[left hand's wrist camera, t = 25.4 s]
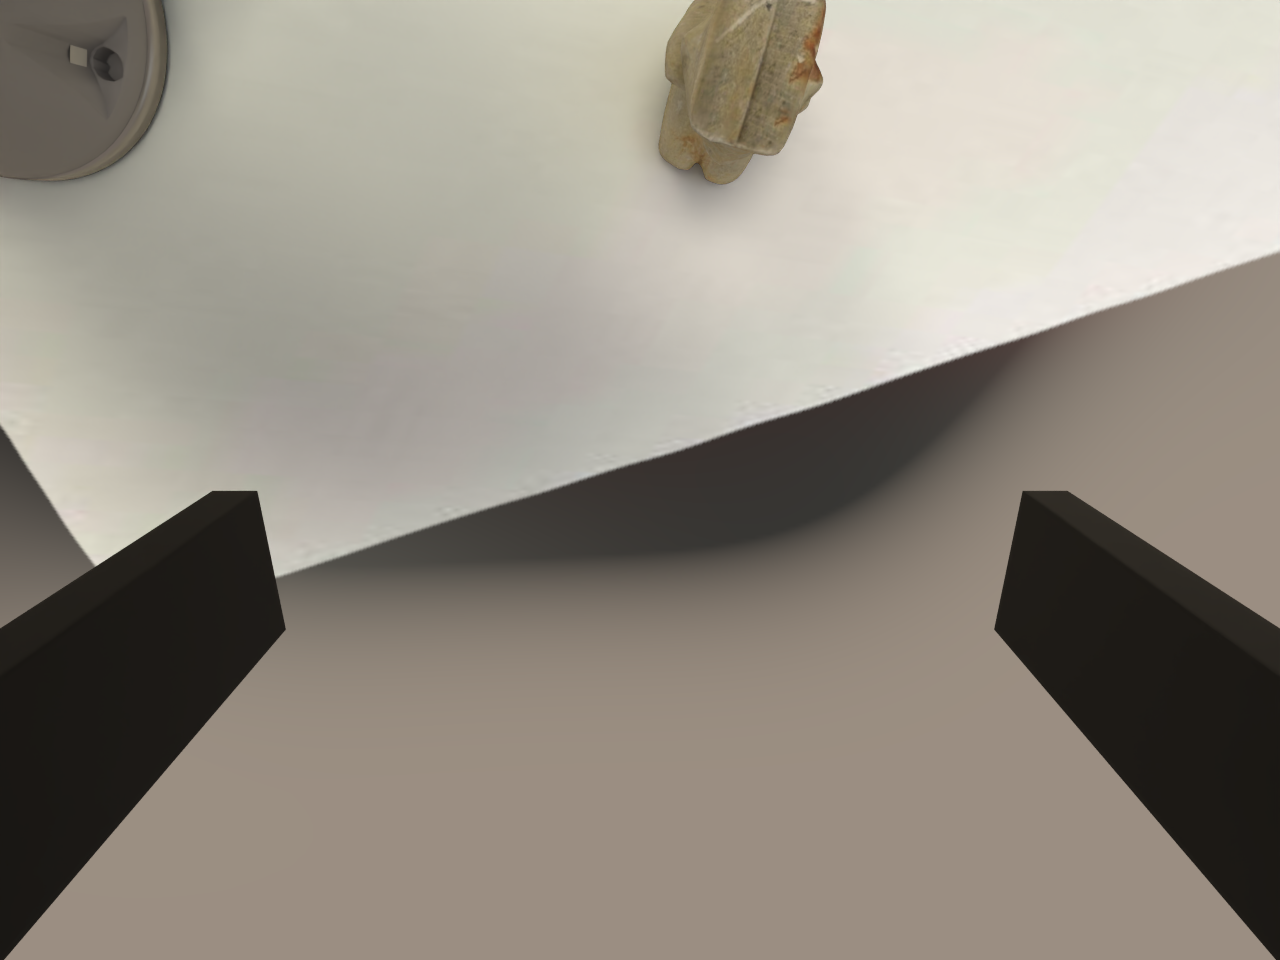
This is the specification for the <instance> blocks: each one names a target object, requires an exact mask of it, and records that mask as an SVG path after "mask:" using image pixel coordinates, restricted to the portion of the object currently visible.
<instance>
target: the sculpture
mask: <svg viewBox="0 0 1280 960" xmlns="http://www.w3.org/2000/svg"><path fill="white" fill-rule="evenodd" d="M825 11H826V1H825V0H695V1H693V3H692V4H691V5H690V7H689V8H688V10H687V11H686V13H685V15H684V16H683V18H682V19H681V21H680V22H679V24H678V25H677V27H676V28H675V30H674V32H673V34H672V35H671V37H670V39H669V41H668V44H667V48H666V58H665V75H666V78H667V79H668V80H669V81H670V82H671V83H672V85H671V89H670V92H669V96H668V100H667V104H666V108H665V112H664V117H663V122H662V128H661V134H660V140H659V151H660V154H661V156H662V157H663V158H664V159H665V160H666V161H667V162H669V163H670V164H672V165H674V166H675V167H677V168H679V169H685V170H688V169H690V168H691V167H692V166H693V165H694V164H695V163H698V164H699V165H701V167H702V170H703V173H704V176H705V178H706V179H707V180H709V181H711V182H714V183H717V184H727V183H730V182H732V181H734V180H735V179H737V178H738V177H739V176H740V174H741V173H742V172H743V171H744V169H745V168H746V166H747V164H748V163H749V161H750V159H751V157H752V155H753V154H760V155H766V156H769V155H775V154H778V153H779V152H780V151H781V149H782V148H783V147H784V145H785V143H786V141H787V139H788V137H789V135H790V132H791V130H792V128H793V126H794V123H795V120H796V117H797V115H798V114H799V113H801V112H802V111H804V110H805V109H806V108H807V107H808V105H809V102H810V99H811V97H812V96H813V95H814V94H815V93H816V92H817V91H818V90H819V89H820V88H821V86H822V83H823V77H822V75H821V72H820V70H819V67H818V65H817V63H816V61H815V58H816V55H817V52H818V47H819V43H820V39H821V35H822V30H823V24H824V18H825Z"/></svg>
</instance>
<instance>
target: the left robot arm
mask: <svg viewBox="0 0 1280 960" xmlns="http://www.w3.org/2000/svg"><path fill="white" fill-rule="evenodd" d="M166 66H167V34H166V26H165V18H164V13H163V8H162V3H161V0H0V176H1V177H6V178H14V179H25V180H43V181H58V180H68V179H74V178H79V177H83V176H87V175H90V174H92V173H95V172H98V171H100V170H102V169H104V168H106V167H108V166H110V165H111V164H113V163H114V162H116V161H117V160H119V159H120V158H122V157H123V156H124V155H125V154H126V153H127V152H128V151H129V150H130V149H132V147H133V146H134V145H135V144H136V143H137V142H138V141H139V139H140V138H141V137H142V135H143V134H144V132H145V131H146V129H147V128H148V126H149V124H150V122H151V120H152V118H153V116H154V114H155V112H156V109H157V107H158V104H159V101H160V98H161V94H162V90H163V86H164V81H165V74H166ZM285 630H286V628H285V623H284V619H283V614H282V609H281V604H280V599H279V594H278V590H277V585H276V580H275V575H274V570H273V565H272V560H271V555H270V551H269V546H268V541H267V536H266V531H265V526H264V521H263V517H262V512H261V507H260V502H259V497H258V492H257V491H212V492H210V493H209V494H207V495H206V496H204V497H203V498H201V499H199V500H198V501H196V502H195V503H193V504H192V505H190V506H189V507H187V508H186V509H184V510H182V511H181V512H179V513H178V514H176V515H175V516H173V517H172V518H170V519H169V520H167V521H165V522H164V523H162V524H161V525H159V526H158V527H156V528H155V529H153V530H152V531H150V532H148V533H147V534H145V535H144V536H142V537H141V538H139V539H138V540H136V541H135V542H133V543H131V544H130V545H128V546H127V547H125V548H124V549H122V550H121V551H119V552H118V553H116V554H115V555H113V556H111V557H110V558H108V559H107V560H105V561H104V562H102V563H101V564H99V565H98V566H96V567H95V568H93V569H91V570H90V571H88V572H87V573H85V574H84V575H82V576H81V577H79V578H77V579H76V580H74V581H73V582H71V583H70V584H68V585H67V586H65V587H64V588H62V589H60V590H59V591H57V592H56V593H54V594H53V595H51V596H50V597H48V598H47V599H45V600H44V601H42V602H40V603H39V604H37V605H36V606H34V607H33V608H31V609H30V610H28V611H27V612H25V613H23V614H22V615H20V616H19V617H17V618H16V619H14V620H13V621H11V622H10V623H8V624H7V625H5V626H3V627H2V628H0V960H4V959H5V958H6V957H7V956H8V954H9V953H10V952H11V951H12V950H13V949H14V947H15V946H16V945H17V944H18V943H19V941H20V940H21V939H22V938H23V937H24V936H25V934H26V933H27V932H28V931H29V930H30V929H31V927H32V926H33V925H34V924H35V923H36V922H37V920H38V919H39V918H40V917H41V916H42V915H43V913H44V912H45V911H46V910H47V909H48V908H49V906H50V905H51V904H52V903H53V902H54V901H55V899H56V898H57V897H58V896H59V895H60V893H61V892H62V891H63V890H64V889H65V888H66V886H67V885H68V884H69V883H70V882H71V881H72V879H73V878H74V877H75V876H76V875H77V873H78V872H79V871H80V870H81V869H82V868H83V867H84V865H85V864H86V863H87V862H88V861H89V859H90V858H91V857H92V856H93V855H94V854H95V852H96V851H97V850H98V849H99V848H100V847H101V845H102V844H103V843H104V842H105V841H106V840H107V838H108V837H109V836H110V835H111V834H112V832H113V831H114V830H115V829H116V828H117V827H118V825H119V824H120V823H121V822H122V821H123V820H124V818H125V817H126V816H127V815H128V814H129V813H130V811H131V810H132V809H133V808H134V807H135V805H136V804H137V803H138V802H139V801H140V800H141V799H142V797H143V796H144V795H145V794H146V793H147V791H148V790H149V789H150V788H151V787H152V786H153V784H154V783H155V782H156V781H157V780H158V779H159V777H160V776H161V775H162V774H163V773H164V771H165V770H166V769H167V768H168V767H169V766H170V765H171V763H172V762H173V761H174V760H175V759H176V757H177V756H178V755H179V754H180V753H181V752H182V750H183V749H184V748H185V747H186V746H187V745H188V743H189V742H190V741H191V740H192V739H193V738H194V736H195V735H196V734H197V733H198V732H199V731H200V729H201V728H202V727H203V726H204V725H205V723H206V722H207V721H208V720H209V719H210V718H211V716H212V715H213V714H214V713H215V712H216V711H217V709H218V708H219V707H220V706H221V705H222V703H223V702H224V701H225V700H226V699H227V698H228V697H229V695H230V694H231V693H232V692H233V691H234V689H235V688H236V687H237V686H238V685H239V684H240V682H241V681H242V680H243V679H244V678H245V677H246V675H247V674H248V673H249V672H250V671H251V670H252V668H253V667H254V666H255V665H256V664H257V663H258V661H259V660H260V659H261V658H262V657H263V655H264V654H265V653H266V652H267V651H268V650H269V648H270V647H271V646H272V645H273V644H274V643H275V641H276V640H277V639H278V638H279V637H280V636H281V634H282V633H283V632H284V631H285ZM994 630H995V631H996V632H997V633H998V634H999V636H1000V637H1001V638H1002V639H1003V640H1004V641H1005V643H1006V644H1007V645H1008V646H1009V647H1010V648H1011V650H1012V651H1013V652H1014V653H1015V654H1016V655H1017V657H1018V658H1019V659H1020V660H1021V661H1022V662H1023V664H1024V665H1025V666H1026V667H1027V668H1028V670H1029V671H1030V672H1031V673H1032V674H1033V675H1034V677H1035V678H1036V679H1037V680H1038V681H1039V682H1040V684H1041V685H1042V686H1043V687H1044V688H1045V689H1046V691H1047V692H1048V693H1049V694H1050V695H1051V696H1052V698H1053V699H1054V700H1055V701H1056V702H1057V704H1058V705H1059V706H1060V707H1061V708H1062V709H1063V711H1064V712H1065V713H1066V714H1067V715H1068V716H1069V718H1070V719H1071V720H1072V721H1073V722H1074V723H1075V725H1076V726H1077V727H1078V728H1079V729H1080V731H1081V732H1082V733H1083V734H1084V735H1085V736H1086V738H1087V739H1088V740H1089V741H1090V742H1091V743H1092V745H1093V746H1094V747H1095V748H1096V749H1097V750H1098V752H1099V753H1100V754H1101V755H1102V756H1103V757H1104V759H1105V760H1106V761H1107V762H1108V763H1109V765H1110V766H1111V767H1112V768H1113V769H1114V770H1115V772H1116V773H1117V774H1118V775H1119V776H1120V777H1121V779H1122V780H1123V781H1124V782H1125V783H1126V784H1127V786H1128V787H1129V788H1130V789H1131V790H1132V791H1133V793H1134V794H1135V795H1136V796H1137V797H1138V799H1139V800H1140V801H1141V802H1142V803H1143V804H1144V806H1145V807H1146V808H1147V809H1148V810H1149V811H1150V813H1151V814H1152V815H1153V816H1154V817H1155V818H1156V820H1157V821H1158V822H1159V823H1160V824H1161V825H1162V827H1163V828H1164V829H1165V830H1166V831H1167V833H1168V834H1169V835H1170V836H1171V837H1172V838H1173V840H1174V841H1175V842H1176V843H1177V844H1178V845H1179V847H1180V848H1181V849H1182V850H1183V851H1184V852H1185V854H1186V855H1187V856H1188V857H1189V858H1190V859H1191V861H1192V862H1193V863H1194V864H1195V865H1196V866H1197V868H1198V869H1199V870H1200V871H1201V872H1202V874H1203V875H1204V876H1205V877H1206V878H1207V879H1208V881H1209V882H1210V883H1211V884H1212V885H1213V886H1214V888H1215V889H1216V890H1217V891H1218V892H1219V893H1220V895H1221V896H1222V897H1223V898H1224V899H1225V900H1226V902H1227V903H1228V904H1229V905H1230V906H1231V908H1232V909H1233V910H1234V911H1235V912H1236V913H1237V915H1238V916H1239V917H1240V918H1241V919H1242V920H1243V922H1244V923H1245V924H1246V925H1247V926H1248V927H1249V929H1250V930H1251V931H1252V932H1253V933H1254V934H1255V936H1256V937H1257V938H1258V939H1259V940H1260V942H1261V943H1262V944H1263V945H1264V946H1265V947H1266V949H1267V950H1268V951H1269V952H1270V953H1271V954H1272V956H1273V957H1274V958H1275V959H1276V960H1280V628H1278V627H1277V626H1275V625H1274V624H1272V623H1270V622H1269V621H1267V620H1266V619H1264V618H1263V617H1261V616H1260V615H1258V614H1257V613H1255V612H1253V611H1252V610H1250V609H1249V608H1247V607H1246V606H1244V605H1243V604H1241V603H1240V602H1238V601H1237V600H1235V599H1233V598H1232V597H1230V596H1229V595H1227V594H1226V593H1224V592H1223V591H1221V590H1220V589H1218V588H1216V587H1215V586H1213V585H1212V584H1210V583H1209V582H1207V581H1206V580H1204V579H1203V578H1201V577H1199V576H1198V575H1196V574H1195V573H1193V572H1192V571H1190V570H1189V569H1187V568H1186V567H1184V566H1182V565H1181V564H1179V563H1178V562H1176V561H1175V560H1173V559H1172V558H1170V557H1169V556H1167V555H1165V554H1164V553H1162V552H1161V551H1159V550H1158V549H1156V548H1155V547H1153V546H1152V545H1150V544H1148V543H1147V542H1145V541H1144V540H1142V539H1141V538H1139V537H1138V536H1136V535H1135V534H1133V533H1132V532H1130V531H1128V530H1127V529H1125V528H1124V527H1122V526H1121V525H1119V524H1118V523H1116V522H1115V521H1113V520H1111V519H1110V518H1108V517H1107V516H1105V515H1104V514H1102V513H1101V512H1099V511H1098V510H1096V509H1094V508H1093V507H1091V506H1090V505H1088V504H1087V503H1085V502H1084V501H1082V500H1081V499H1079V498H1077V497H1076V496H1074V495H1073V494H1071V493H1070V492H1068V491H1023V492H1022V497H1021V502H1020V507H1019V512H1018V517H1017V521H1016V526H1015V531H1014V536H1013V541H1012V546H1011V551H1010V555H1009V560H1008V565H1007V570H1006V575H1005V580H1004V585H1003V589H1002V594H1001V599H1000V604H999V609H998V614H997V619H996V624H995V628H994Z"/></svg>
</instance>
